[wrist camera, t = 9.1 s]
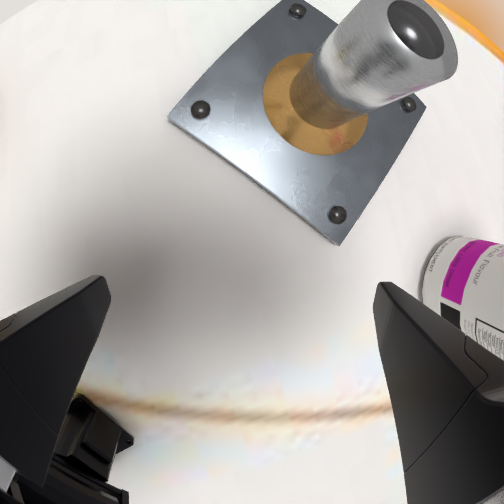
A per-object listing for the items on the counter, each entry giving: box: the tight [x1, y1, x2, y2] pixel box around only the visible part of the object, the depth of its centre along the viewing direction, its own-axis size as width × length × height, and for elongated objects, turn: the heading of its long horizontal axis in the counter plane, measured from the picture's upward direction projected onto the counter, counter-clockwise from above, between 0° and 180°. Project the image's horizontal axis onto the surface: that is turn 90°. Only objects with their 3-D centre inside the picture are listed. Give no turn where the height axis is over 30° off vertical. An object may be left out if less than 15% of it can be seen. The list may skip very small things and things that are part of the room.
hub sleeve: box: [289, 0, 458, 129], centre depth 13 cm, size 5×5×11 cm
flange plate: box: [167, 0, 426, 246], centre depth 18 cm, size 14×14×1 cm
